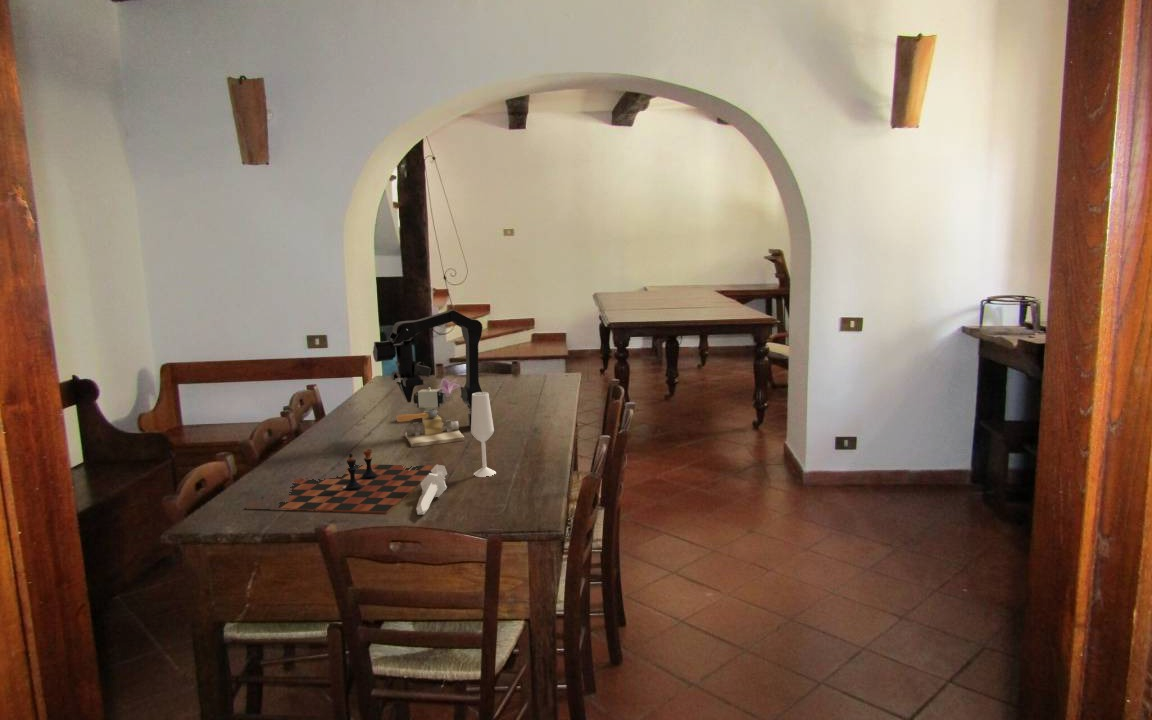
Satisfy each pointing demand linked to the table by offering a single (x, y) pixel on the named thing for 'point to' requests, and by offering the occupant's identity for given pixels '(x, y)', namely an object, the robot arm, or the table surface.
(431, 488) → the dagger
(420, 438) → the valve plank
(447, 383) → the lily
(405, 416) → the valve lever
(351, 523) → the table surface
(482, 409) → the champagne flute
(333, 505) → the chessboard
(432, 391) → the pneumatic valve
